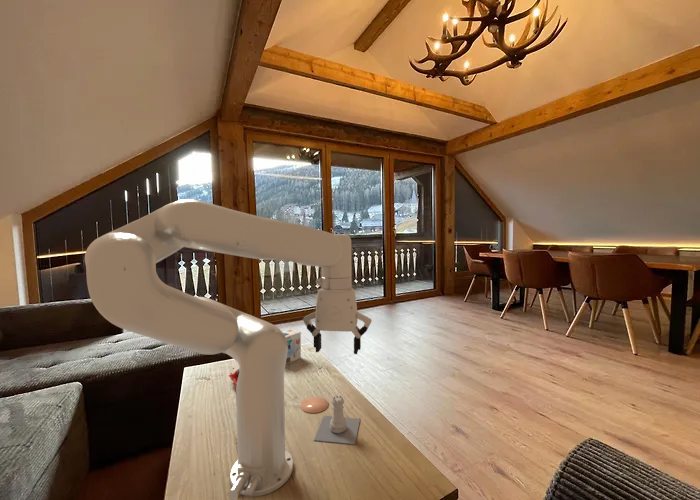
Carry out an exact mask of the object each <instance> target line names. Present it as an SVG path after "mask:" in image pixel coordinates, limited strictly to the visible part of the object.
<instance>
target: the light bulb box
mask: <svg viewBox="0 0 700 500" xmlns="http://www.w3.org/2000/svg"><path fill="white" fill-rule="evenodd" d="M282 332H283V334H284V335H285V337H286V340H287V345H288V352H287V359H286V364H285V366H286V365H287V364H290V363H292V362H295V361H297V360H299V359H301V358H302V353H301V352H302V345H301V341H302V340H301V339H302V337H301V332H300V331H296V330H294V329H290V328H289V329H286V330H282Z"/></svg>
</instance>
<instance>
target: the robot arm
mask: <svg viewBox="0 0 700 500" xmlns="http://www.w3.org/2000/svg"><path fill="white" fill-rule="evenodd" d="M183 248H188V249H193V250H201V251H205V252H212V253H219V254H225V255H231V256H237V257H243V258H249V259H254V260H255V259H256V260H264V261H265V260H267V261H283V262H284V261H286V262H293V263H295V264H298V265H301V266H309V267H318V268H319V267H320V268H321V269H320V272H321V275H320V277H319V278H315V284H316V285H319V286H320V288H319V289H317V294H316V303H315V311H313V312H311V313H309V314H307V315H306V316H304V317H303V318H302V321H303V323H304V325H305V327H306V329H307V330H308V332H309V333H310V334H311V335H312V337H313V348H315V353H319V352H320V350H321V349H322V334H321V331H324V332H325V331H326V332H342V333H343V332H346V333H347V332H351V333H352V334H353V335H354V337H353V354H354V355H358V351H361V344H362V343H361V342H362V341H361V339H362V336H363V335H365V333H366V332H367V331H368V329H369V327H370V325H371V323H372V319H371V318H370V317H368V316H366V315H365V314H363V313H361V312H359V311H358V305H357V297H356V292H355V289H354V288H353V287H352V274H353V273H352V239H351V237H350V235H348V234H344V233H341V234H340V233H339V234H338V233H337V234H335V233H331V232H328V231H325V230H321V229H318V228H314V227H311V226H306V225H302V224H298V223H292V222H286V221H281V220H278V219H273V218H268V217H265V216H263V217H262V216H259V215H254V214H251V213H247V212H243V211H239V210H235V209H232V208H228V207H224V206H221V205H217V204H214V203H208V202H205V201H202V200H198V199H190V198H184V199H178V200H176V201H173V202H170V203H168V204H165V205H163V206H162V207H160V208H158V209H156V210H154V211H152V212H151V213H148V214H147V215H144V216H142V217H140V218H139V219H136V220H134V221H131V222H129V223H127V224H124V225H123V226H121V227H118V228H116V229H114V230H112V231H109V232H107V233H105V234H103V235H101V236H99V237H97V238H96V239H94V240H93V241H92V242H91V243H90V244H89V245H88V246H87V249H86V251H85V254H84V264H85V273H86V285H87V290H88V294H89V298H90V300H91V302H92V304H93V306H94V307H95V309H96V310H97V311H98V313H99V314H100V315H101V316H102V317H103V318H104V319H105V320H106V321H108V322H109V323H111V324H112V325H114V326H115V327H118V328H120V329H123V330H125V331H127V332H130V333H134V334H137V335H141V336H143V337H146V338H150V339H153V340H157V341H160V342H162V343H166V344H169V345H172V346H176V347H179V348H182V349H186V350H189V351H192V352H195V353H197V354H202V355H211V356H212V355H217V354H221V353H222V354H226V355H228V356H230V357H231V358H233V359H234V360H235V361H236V362H237V363H238V367H239V368H240V369H239V368H238V369H239V376H238V380H237V385H236V393H235V402H236V403H235V405H236V407H235V408H236V432H237V433H236V436H237V437H236V442H237V443H236V444H237V460H236V461H235V462H234V463H233V465H232V467H231V469H230V474H229V482H230V485H231V488H230V489H229V491H228V494H227V495H228V499H230V500H238V498H239V496H240V495H243V496H246V497H261V496H265V495H267V494H271V493H273V492H274V491H277V490H279V488H281V487H282V486H283V485H284V484H285V483H287V482H288V480H289V478H290V477H291V475H292V473H293V471H294V470H293V469H294V460H293V457H292V454H291V453H290V452H289V451H288V450H287V449H286V422H285V421H286V419H285V418H286V417H285V409H286V408H285V406H286V405H285V369H286V365H287V364H286V359H287V352H288V345H287V340H286V337H285V335H284V334H283V330H281V329H280V328H279V327H278V326H276V325H275V324H273V323H270V322H269V321H267V320H264V319H262V318H259V317H256V316H254V315H252V314H248V313H246V312H244V311H241V310H239V309H237V308H234V307H231V306H228V305H226V304H224V303H222V302H218V301H216V300H215V299H211V298H209V297H204V296H194V295H192V294H189V293H186V292H184V291H182V290H180V289H177V288H175V287H172V286H170V285H167V284H166V283H165V282H163V281H162V280H161V279H160V277H159V276H158V273H157V265H156V264H157V263H159V262H162V261H163V260H164V259H166V258H168V257H170V256H171V255H173V254H175V253H176V252H178V251H180V250H181V249H183ZM313 319H315V321H314V324H313V323H312V321H311V320H313ZM358 320H360V321H361V322H363V323H364V324H363V326H362V327H360V328H359V326H358V325H357V324H358ZM285 364H286V365H285Z"/></svg>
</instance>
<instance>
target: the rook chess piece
mask: <svg viewBox="0 0 700 500" xmlns="http://www.w3.org/2000/svg"><path fill="white" fill-rule="evenodd" d="M344 403H345V399H344V397H343V396H342V395H338V394H337V395H335V396H333V397H332V400H331V404H332V410H333V411H332V416H333V417H332V419H331V421H330V430H331V431H332V432H333V433H342V432H344V431H345V430H346V428H347V425H346V424H347V423H346V420H345V418H346V417H345V416H344V408H345V407H344V406H343V405H344ZM344 417H345V418H344Z"/></svg>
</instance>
